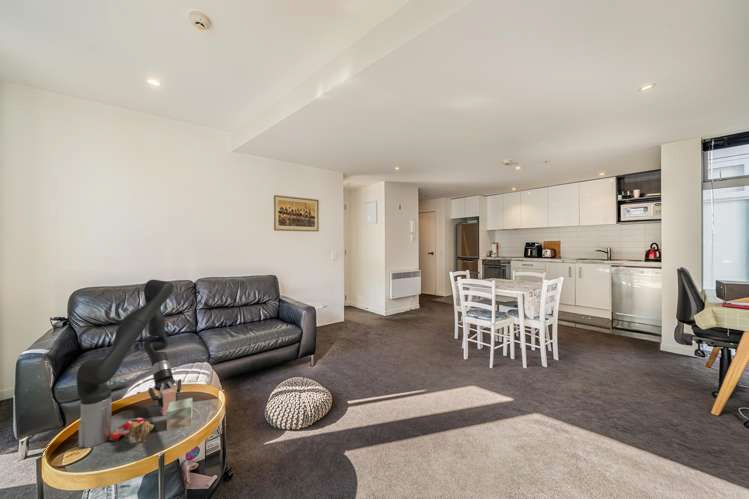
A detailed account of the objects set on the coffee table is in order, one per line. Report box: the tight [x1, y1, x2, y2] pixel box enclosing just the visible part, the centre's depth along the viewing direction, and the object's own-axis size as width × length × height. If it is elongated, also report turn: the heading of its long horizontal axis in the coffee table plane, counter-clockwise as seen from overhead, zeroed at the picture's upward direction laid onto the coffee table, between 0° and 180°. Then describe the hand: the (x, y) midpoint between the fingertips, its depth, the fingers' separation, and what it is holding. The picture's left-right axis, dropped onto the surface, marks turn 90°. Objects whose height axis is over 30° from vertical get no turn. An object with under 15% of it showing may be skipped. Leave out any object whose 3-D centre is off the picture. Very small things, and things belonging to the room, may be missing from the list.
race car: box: [108, 417, 146, 442], centre depth 127 cm, size 13×5×4 cm, turn 164°
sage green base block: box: [166, 397, 193, 431], centre depth 135 cm, size 9×9×8 cm
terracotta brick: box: [159, 387, 176, 416], centre depth 143 cm, size 5×5×10 cm
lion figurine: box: [125, 420, 155, 447], centre depth 121 cm, size 15×5×9 cm, turn 69°
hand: (169, 404), depth 142 cm, fingers closed on terracotta brick, 5 cm apart
